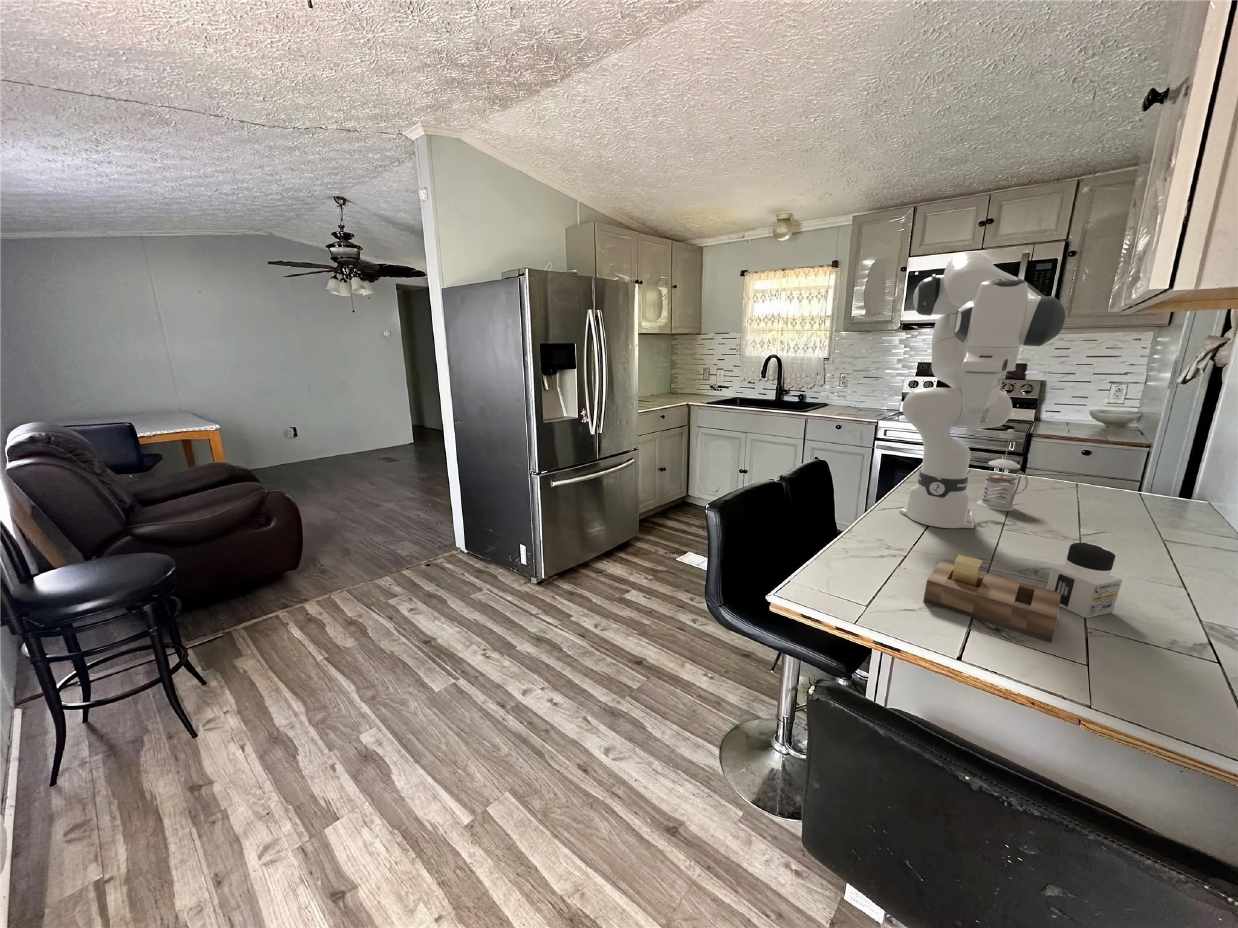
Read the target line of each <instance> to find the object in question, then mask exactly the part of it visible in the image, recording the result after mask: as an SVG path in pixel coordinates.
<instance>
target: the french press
mask: <svg viewBox="0 0 1238 928" xmlns="http://www.w3.org/2000/svg"><path fill="white" fill-rule="evenodd" d="M1015 432H1016V431H1015V430H1014V429H1008V430H1006V433H1007V434H1009V438H1008V440H1007V441H1008V442H1007V445H1006V452H1005V457H1004V458H1003V459H1001V458H997V459H993V460H991V461H988V463H987V464H988V465H989V466H990V467H994V468H998V469H1002V470H1001V473H988V474H987V478H985V481H984V486H983V491H982V495H981V499H979V500H978V501H977V502H976V504H978V506H981V507H983V508H987V509H990V510H996V511H1004V512H1007V511H1008V512H1011V511H1012V512H1013V511H1014V510H1015V507H1014V506H1013V501H1014V498H1015V495H1020V494H1022V493H1023V492H1024V491H1026V490H1027V487H1028V485H1029V478H1028V475H1027V474H1026V473H1024V472H1023V471H1021V470H1019V469H1020V468H1021V465H1020V464H1018V463H1017V462H1015V461H1013V460H1009V459H1007V454H1008V449H1009V445H1010V441H1011V435H1012V434H1013V435H1014V434H1015ZM1004 469H1005V470H1019V471H1017V472H1016V476H1017V477H1018V476H1019V475H1020V474H1021V475H1022V477H1024V480H1025V486H1024V488H1023V489H1022V490H1021V491H1017V492H1015V489H1016V484H1017V483H1016V482H1015V481H1016V478H1015V477H1014V476H1011V475H1007V474H1003V472H1004ZM1003 483H1004V484H1003ZM995 492H996V493H995ZM1014 492H1015V493H1014Z"/></svg>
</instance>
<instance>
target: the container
mask: <svg viewBox="0 0 1238 928" xmlns="http://www.w3.org/2000/svg"><path fill="white" fill-rule="evenodd" d="M1115 559H1116V554H1115V552H1114V551H1112V550H1111V549H1109V548H1107V547H1105V546H1103V545H1099V544H1095V543H1092V542H1091V543H1090V542H1075V543H1072V544H1070V545H1069V547H1068V551H1067V556H1066V559H1065V560H1066V561H1065V563H1060V564H1055V565H1052V566H1051V569H1050V572H1049V576H1048V580H1047V584H1046V588H1045V589H1048V590H1052V591H1056V592H1060V593H1061V598H1060V605H1059V607H1060V608H1063V609H1065V610H1067V611H1069V612H1071V613H1074V614H1076V615H1078V616H1081V617H1083V618H1085V619H1089V618H1092V617H1098V616H1101V615H1106V614H1111V613H1113V612H1114V610H1115V606H1116V603H1117V600H1118V596H1119V593H1120V589H1121V586H1122V585H1121V584H1122V582H1123V578H1122V576H1119V575H1116V574H1113V573H1112V570H1113V566H1114V564H1115V563H1114V562H1115Z"/></svg>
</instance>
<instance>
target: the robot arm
mask: <svg viewBox="0 0 1238 928" xmlns="http://www.w3.org/2000/svg"><path fill="white" fill-rule="evenodd" d="M912 297H913V298H912V302H913V306H914V308H915V312H916V313H917V314H919V315H921V316H932V315H936V316H937V315H938V316H939V315H940V316H939V317H938V319H936V321H935V324H934V327H933V332H932V338H931V372H932V374H933V376H934V377H935V378H936V379H937V380H939V381H940V382H943V383H944V384H946V385H948V386H949V387H925V388H918V389H913V390H911V391H910V392H909V393H907V395H906V397H904V400H903V402H902V414H903V416H904V418H905V419H906V421H907V422H908V423H909V424H911V425H912V426H913V427H914V428H915V429H916V430H917V432H918V433H919V435H920V437H921V440H922V444H923V457H922V465H921V470H920V471H919V473H918V475H917V484H916V485H915V486H913V487H911V489H910V491H909V496H908V501H907V505H906V506H904V507H902V508H900V511H899V513H901V514H903V515H905V516H907V517H908V518H909V519H911V520H913V521H915V522H917V523H920V524H923V525H927V526H930V527H935V528H943V529H961V528H962V529H964V528H965V529H974V528H975V523H974V517H973V512H972V510H971V509H970V508H969V505H970V500H971V499H970V498H969V496H968V493H967V491H966V490H967V488H968V484H969V482H968V481H969V478H968V470H969V466H970V459H971V456H972V455H971V454H972V453H971V450H970V448H969V446H968V445H966V444H965V443H964V442H962V441H960V440H958V439H957V438H954V437H952V435H951V429H952V428H960V429H961V428H962V429H967V431H971V432H976V431H978V430H979V429H981V430H982V429H988V428H998V427H1001V426H1002V425H1004V424H1005V423H1006V422H1007V421H1008V420H1009V419H1010V417H1011V415H1012V413H1013V403H1012V399H1011V397H1010V396H1009V395H1008V393H1006V392H1004V391H1002V390H1001V387H1002V380H1005V379H1006V375H1007V372H1014V371H1015V370H1016V366H1017V361H1018V354H1019V350H1020V346H1021V345H1022V346H1026V347H1027V346H1028V347H1029V346H1030V347H1031V346H1032V347H1041V346H1043V345H1045V344H1046V343H1048V342H1050V341H1052V340H1053V339H1054V338H1056V337H1057V336H1058V335H1059V334H1060V333H1061V331H1062V329H1063V327H1064V324H1065V321H1066V320H1065V319H1066V310H1065V306H1064V305H1063V304H1062V302H1061V301H1059V299H1057V298H1056V297H1055V296H1052V295H1051V296H1050V295H1049V296H1046V295H1044V294H1043V293H1041V292H1040V291H1039V290H1038V289H1037V288H1035V287H1034V286H1033V285H1031V284H1030V283H1029V282H1027V281H1026V280H1025V279H1022V278H1019V277H1018V276H1014V275H1012V274H1010V273H1008V272H1005V271H1003V270H1002V269H1000V268H998V267H996V266H995V265H994V263H993V262H992V261H991V260H990V258H988V257H987V256H986V255H984V254H982V253H980V252H977V251H971V250H970V251H969V250H968V251H964V252H961V253H959V254H957V255H954V257H952V258H951V259H950V261H949V262H948V263H947V265H946V267H945V269H944V272H943V274H942V275H936V274H935V273H934V274H932V275H931V276H930V277H927V278H925V279H923V280H921V281H920V282H919V283H918V284H917V287H916V288H915V290H914V292H913V296H912Z"/></svg>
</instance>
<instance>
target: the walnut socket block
mask: <svg viewBox="0 0 1238 928" xmlns="http://www.w3.org/2000/svg"><path fill="white" fill-rule="evenodd" d="M953 569H954V563H950V562H946V561H943V560H940V561H939V562H938V564H937V565H936V567H935V568H934V570H933V571H931V573H930V575H929V576H928V578H927V579H926V584H925V585H926V586H925V589H924V594H923V595H924V596H923V603H926V604H928V605H932V606H935V607H938V608H941V609H945V610H947V611H949V612H954V613H957V614H959V615H963V616H967V617H969V618H973V619H975V620H978V621H982V622H985V623H987V624H991V625H994V626H997V627H1000V628H1003V629H1006V630H1010V631H1013V632H1014V633H1015V632H1016V633H1019V634H1022V635H1025V636H1029V637H1031V638H1035V639H1038V640H1041V641H1043V642H1047V643H1049V644H1051V643H1052V642H1053V641H1052V640H1053V637H1054V634H1055V629H1056V626H1057V622H1058V617H1059V610H1060V606H1059V605H1060V598H1061V593H1060V592H1056V591H1052V590H1048V589H1046V588H1044V587H1041V586H1040V587H1039V586H1036V585H1034V584H1029V583H1025V582H1021V581H1017V580H1014V579H1009V578H1006V577H1003V576H999V575H995V574H991V573H989V572H988V573H987V572H985V571H981V570H980V575H979V580H978V584H977V587H973V586H970V585H966V584H963V583H959V582H956V581H952V580H951V579H952V574H953Z"/></svg>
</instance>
